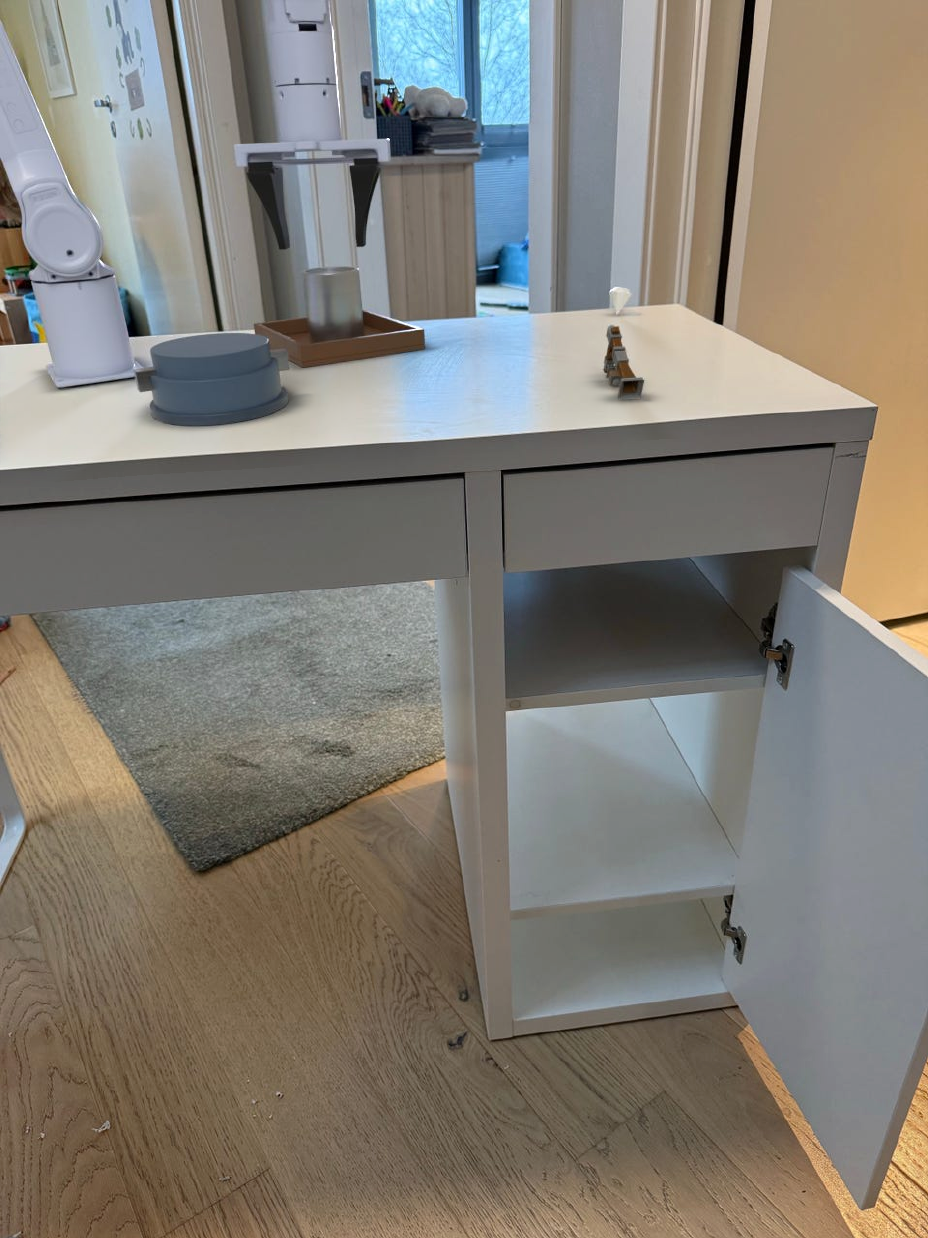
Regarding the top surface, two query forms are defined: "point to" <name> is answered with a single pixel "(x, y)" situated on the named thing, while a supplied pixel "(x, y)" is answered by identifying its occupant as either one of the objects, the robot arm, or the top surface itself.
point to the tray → (342, 340)
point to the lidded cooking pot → (214, 379)
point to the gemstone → (620, 297)
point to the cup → (333, 303)
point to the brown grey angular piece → (620, 367)
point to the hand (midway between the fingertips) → (322, 247)
